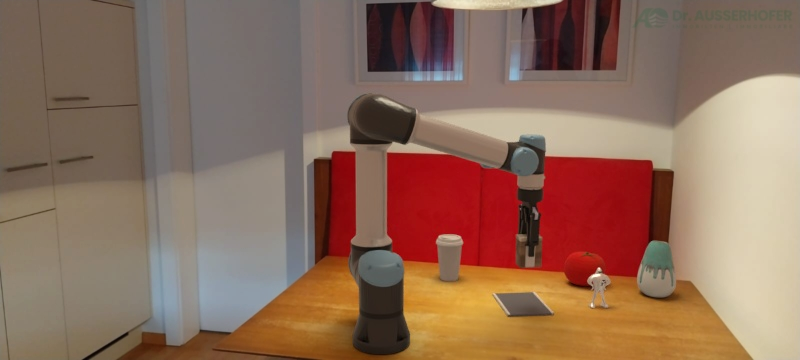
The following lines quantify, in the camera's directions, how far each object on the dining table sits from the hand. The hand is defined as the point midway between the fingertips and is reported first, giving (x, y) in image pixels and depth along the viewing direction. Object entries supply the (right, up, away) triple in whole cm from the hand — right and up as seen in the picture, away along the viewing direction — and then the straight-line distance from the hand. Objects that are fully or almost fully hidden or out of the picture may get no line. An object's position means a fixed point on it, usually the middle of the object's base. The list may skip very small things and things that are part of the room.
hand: (526, 263), depth 176 cm
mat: (0, -13, +6) cm, 15 cm away
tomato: (+25, -11, +25) cm, 37 cm away
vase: (+45, -12, +15) cm, 49 cm away
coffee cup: (-21, -10, +30) cm, 38 cm away
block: (+1, 0, 0) cm, 1 cm away
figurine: (+23, -14, +5) cm, 27 cm away
